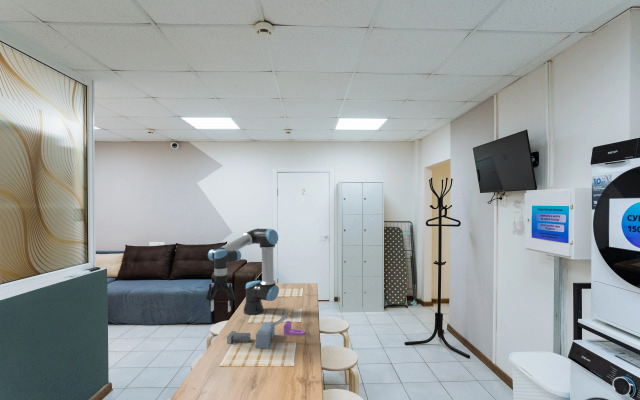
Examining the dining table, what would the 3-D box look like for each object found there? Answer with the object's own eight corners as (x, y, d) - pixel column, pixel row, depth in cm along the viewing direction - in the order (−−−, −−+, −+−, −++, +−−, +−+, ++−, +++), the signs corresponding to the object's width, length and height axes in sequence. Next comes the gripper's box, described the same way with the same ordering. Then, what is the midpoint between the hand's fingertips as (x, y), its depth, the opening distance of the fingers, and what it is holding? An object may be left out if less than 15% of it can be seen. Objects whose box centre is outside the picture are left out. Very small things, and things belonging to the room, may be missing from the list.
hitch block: (263, 334, 192) (263, 322, 192) (274, 334, 191) (274, 322, 191) (255, 347, 174) (255, 334, 174) (267, 348, 173) (267, 334, 173)
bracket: (283, 334, 191) (283, 323, 191) (285, 331, 197) (285, 320, 197) (303, 335, 190) (303, 324, 190) (305, 331, 195) (305, 321, 196)
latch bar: (272, 327, 183) (270, 323, 184) (293, 314, 183) (291, 311, 183) (272, 328, 181) (269, 325, 181) (292, 316, 180) (290, 312, 180)
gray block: (231, 337, 188) (231, 331, 188) (251, 337, 187) (251, 331, 187) (227, 343, 180) (226, 336, 180) (247, 344, 179) (247, 337, 179)
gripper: (200, 276, 182) (200, 312, 181) (236, 276, 180) (236, 313, 180) (205, 273, 189) (205, 308, 189) (240, 273, 188) (240, 309, 187)
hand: (220, 311), depth 184 cm, fingers open, 10 cm apart
